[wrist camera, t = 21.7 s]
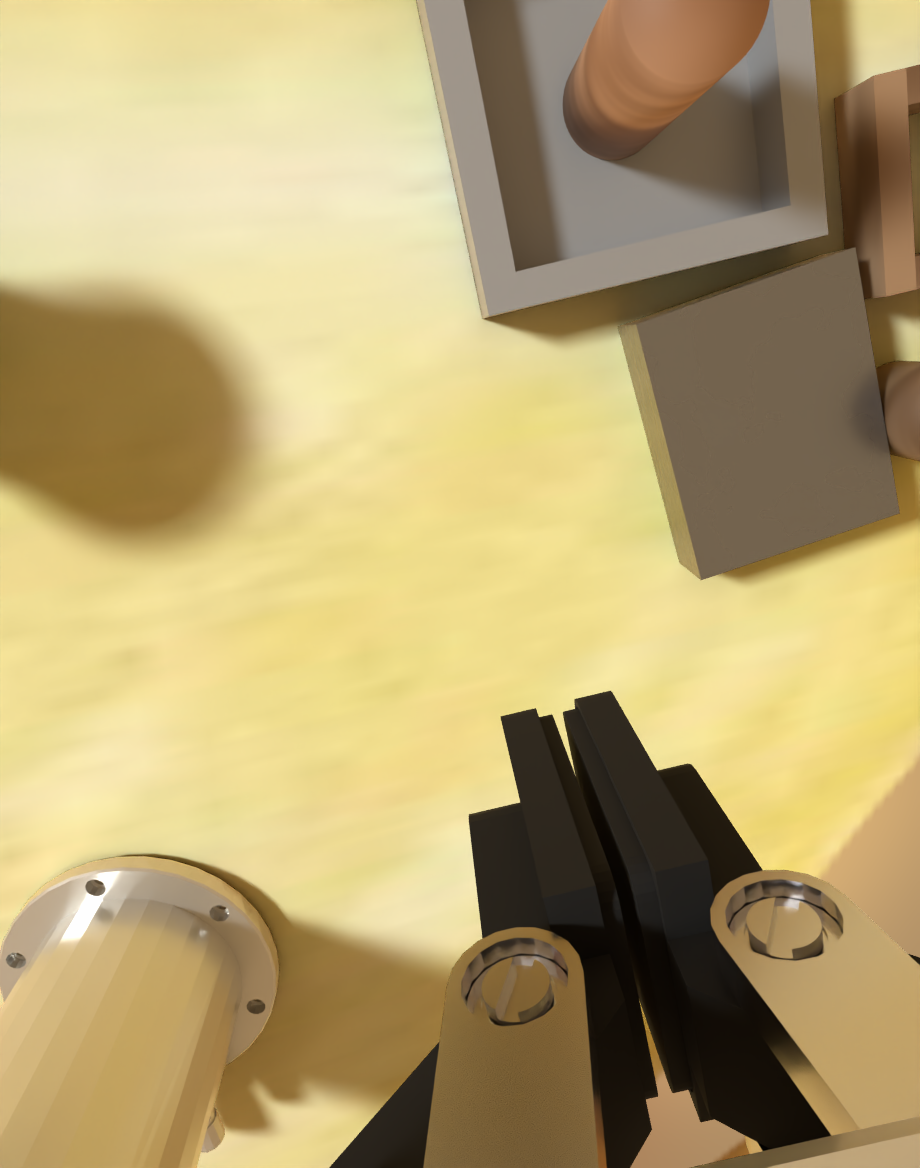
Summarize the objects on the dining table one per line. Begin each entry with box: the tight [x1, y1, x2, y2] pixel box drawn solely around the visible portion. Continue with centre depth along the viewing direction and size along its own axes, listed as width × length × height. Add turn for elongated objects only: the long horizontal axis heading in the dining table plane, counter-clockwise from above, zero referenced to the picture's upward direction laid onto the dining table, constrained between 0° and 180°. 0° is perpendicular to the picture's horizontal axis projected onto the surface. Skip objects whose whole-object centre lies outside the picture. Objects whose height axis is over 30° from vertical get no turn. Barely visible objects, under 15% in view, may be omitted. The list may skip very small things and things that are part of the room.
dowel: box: [563, 0, 770, 160], centre depth 23 cm, size 4×4×9 cm
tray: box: [416, 0, 828, 319], centre depth 26 cm, size 12×12×3 cm
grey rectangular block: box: [618, 247, 900, 580], centre depth 30 cm, size 10×8×3 cm
